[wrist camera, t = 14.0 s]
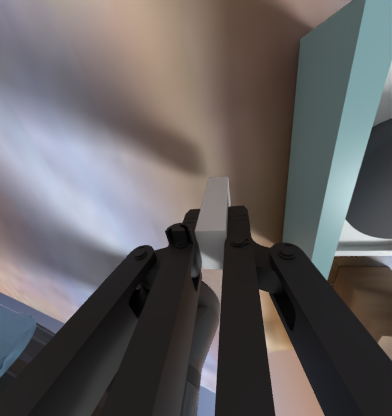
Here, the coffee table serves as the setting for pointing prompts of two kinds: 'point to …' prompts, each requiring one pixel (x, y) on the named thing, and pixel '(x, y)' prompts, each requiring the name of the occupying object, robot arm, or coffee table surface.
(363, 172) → the puck
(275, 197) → the coffee table surface
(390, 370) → the robot arm
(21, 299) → the coffee table surface
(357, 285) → the walnut block
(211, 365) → the coffee table surface
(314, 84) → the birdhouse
